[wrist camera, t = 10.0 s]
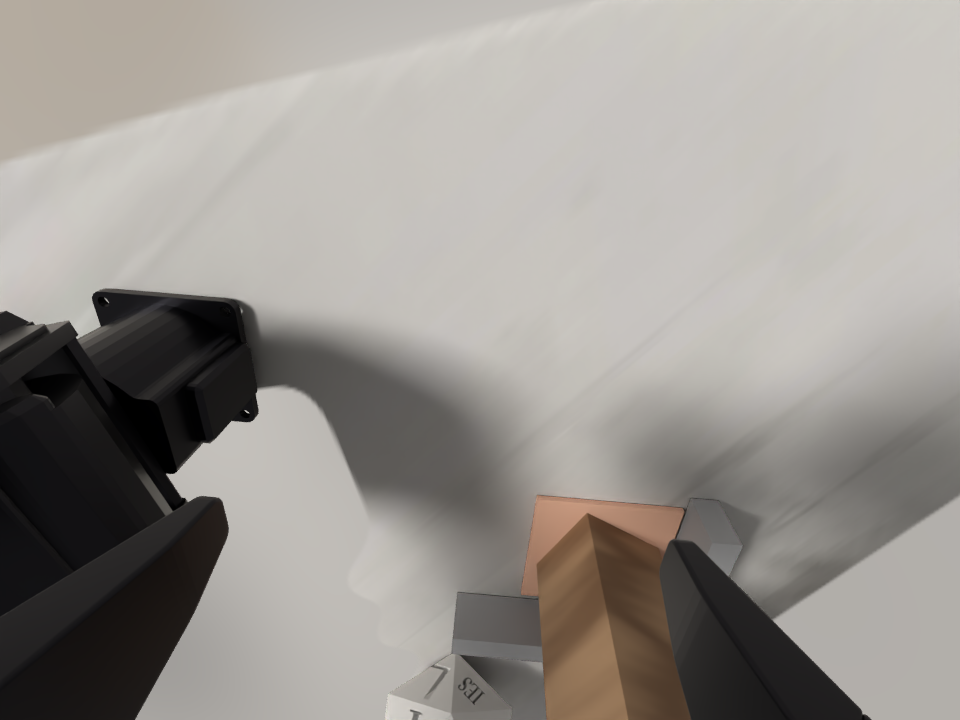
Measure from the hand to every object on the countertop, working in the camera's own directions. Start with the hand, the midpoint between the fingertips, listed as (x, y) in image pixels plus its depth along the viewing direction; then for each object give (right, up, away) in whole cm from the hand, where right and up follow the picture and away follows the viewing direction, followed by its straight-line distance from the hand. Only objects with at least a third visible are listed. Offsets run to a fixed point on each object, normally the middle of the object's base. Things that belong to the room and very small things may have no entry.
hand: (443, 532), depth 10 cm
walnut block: (+7, -8, +18) cm, 21 cm away
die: (-1, -19, +25) cm, 32 cm away
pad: (+8, -8, +18) cm, 21 cm away
